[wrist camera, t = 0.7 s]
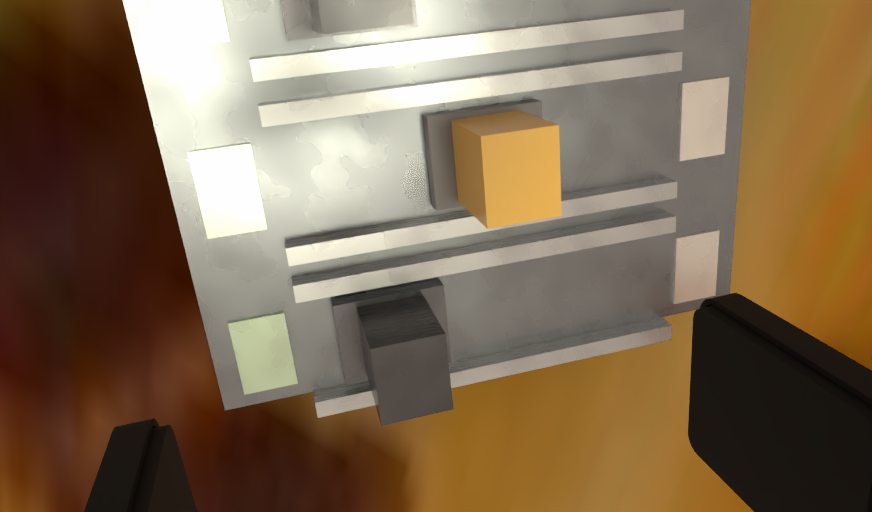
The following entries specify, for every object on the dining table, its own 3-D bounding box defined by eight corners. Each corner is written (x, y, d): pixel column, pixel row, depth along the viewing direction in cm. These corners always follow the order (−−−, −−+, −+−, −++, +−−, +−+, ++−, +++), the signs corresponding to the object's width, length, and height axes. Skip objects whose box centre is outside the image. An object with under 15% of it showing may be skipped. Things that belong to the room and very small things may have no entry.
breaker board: (108, -96, 24) (56, -134, 18) (730, -138, 29) (858, -180, 23) (230, 401, 32) (223, 495, 26) (705, 301, 37) (795, 359, 31)
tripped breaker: (422, 114, 28) (453, 133, 23) (534, 99, 29) (584, 114, 24) (432, 205, 29) (462, 239, 25) (538, 188, 30) (585, 217, 26)
